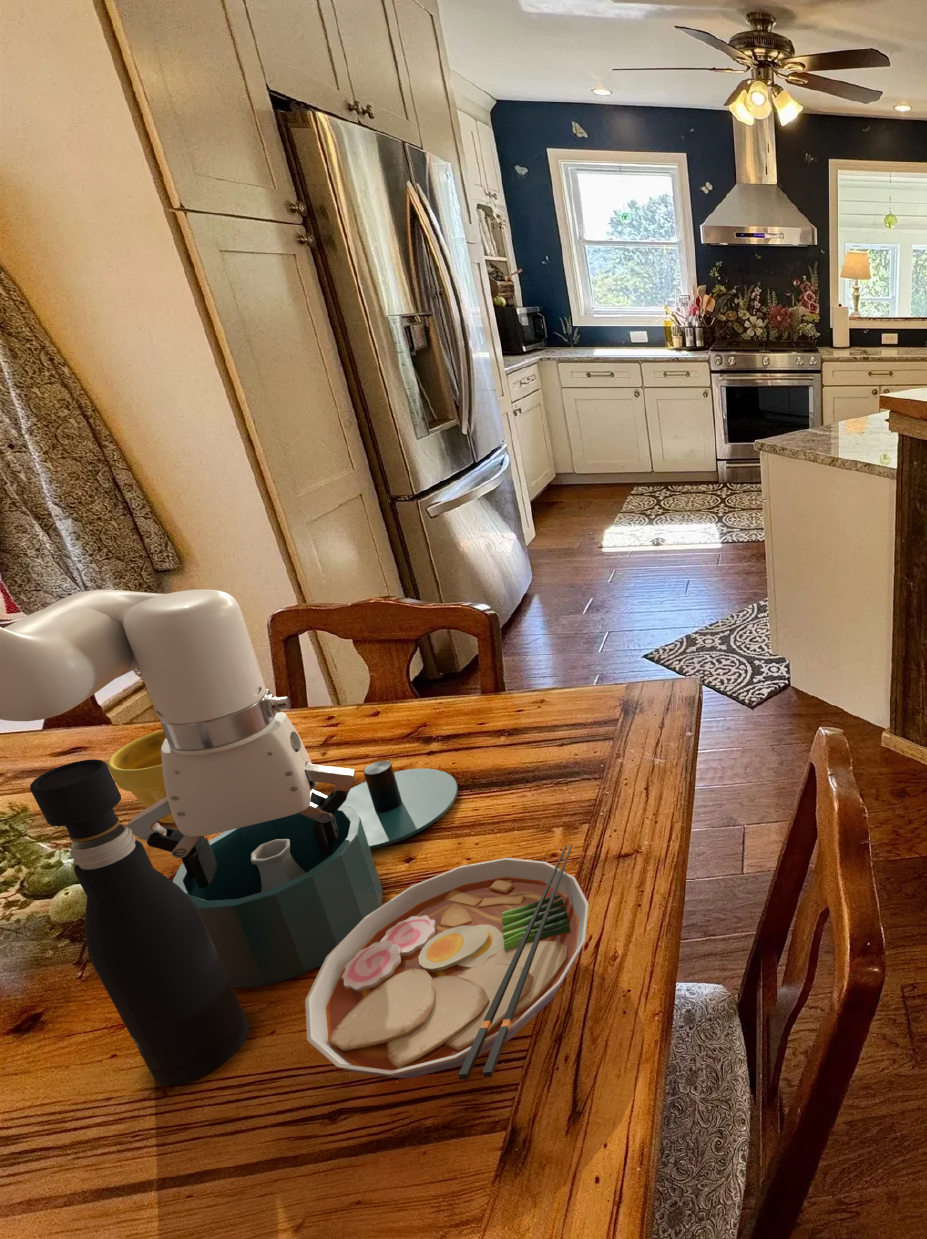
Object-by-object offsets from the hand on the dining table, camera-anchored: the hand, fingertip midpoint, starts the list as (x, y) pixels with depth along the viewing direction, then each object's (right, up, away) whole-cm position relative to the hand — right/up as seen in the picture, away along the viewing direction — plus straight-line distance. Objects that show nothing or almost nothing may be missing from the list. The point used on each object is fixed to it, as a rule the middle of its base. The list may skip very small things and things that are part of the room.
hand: (270, 862), depth 72 cm
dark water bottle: (+2, -13, -9) cm, 16 cm away
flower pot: (-28, -1, +20) cm, 35 cm away
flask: (0, -8, +3) cm, 9 cm away
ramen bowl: (+23, -12, -4) cm, 27 cm away
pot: (0, -8, +3) cm, 9 cm away
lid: (-2, -1, +20) cm, 20 cm away
